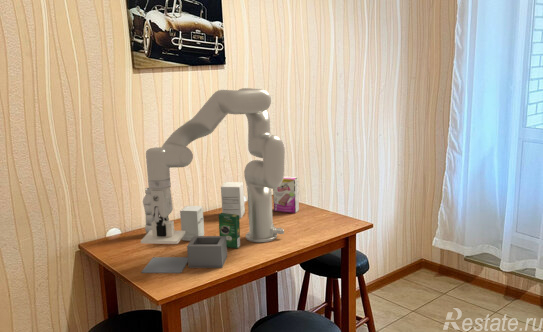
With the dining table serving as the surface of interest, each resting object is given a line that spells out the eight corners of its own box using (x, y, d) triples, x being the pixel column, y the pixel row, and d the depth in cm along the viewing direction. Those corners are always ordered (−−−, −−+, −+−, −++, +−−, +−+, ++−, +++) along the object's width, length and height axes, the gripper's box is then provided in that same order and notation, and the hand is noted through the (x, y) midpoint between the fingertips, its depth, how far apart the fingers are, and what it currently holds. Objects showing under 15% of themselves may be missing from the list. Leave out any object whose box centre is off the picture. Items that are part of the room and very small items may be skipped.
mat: (190, 258, 188) (190, 257, 188) (181, 273, 176) (181, 271, 176) (153, 258, 190) (153, 257, 190) (141, 272, 177) (141, 271, 177)
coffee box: (241, 246, 198) (239, 214, 195) (238, 249, 195) (236, 216, 193) (223, 244, 201) (221, 212, 199) (219, 246, 199) (217, 214, 196)
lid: (185, 233, 185) (184, 217, 184) (177, 243, 175) (176, 227, 173) (150, 232, 186) (149, 217, 185) (140, 243, 176) (139, 226, 174)
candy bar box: (273, 211, 240) (272, 177, 237) (277, 208, 245) (276, 175, 241) (295, 213, 236) (294, 179, 232) (299, 210, 240) (298, 176, 237)
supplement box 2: (226, 212, 242) (224, 181, 239) (245, 212, 241) (243, 181, 237) (222, 218, 233) (220, 186, 230) (241, 218, 232) (239, 186, 229)
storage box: (227, 256, 189) (226, 236, 187) (222, 267, 179) (221, 246, 177) (195, 256, 190) (193, 236, 188) (188, 267, 180) (186, 246, 178)
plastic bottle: (147, 238, 211) (142, 191, 207) (144, 233, 217) (140, 187, 213) (163, 235, 213) (159, 189, 209) (159, 230, 220) (155, 185, 215)
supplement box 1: (199, 241, 205) (196, 211, 203) (181, 240, 207) (179, 210, 204) (205, 234, 212) (203, 205, 210) (188, 234, 214) (185, 205, 211)
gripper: (163, 189, 168) (167, 242, 172) (176, 178, 184) (179, 226, 188) (140, 189, 169) (145, 242, 173) (156, 178, 185) (159, 226, 188)
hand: (163, 233), depth 180 cm, fingers closed on lid, 3 cm apart
